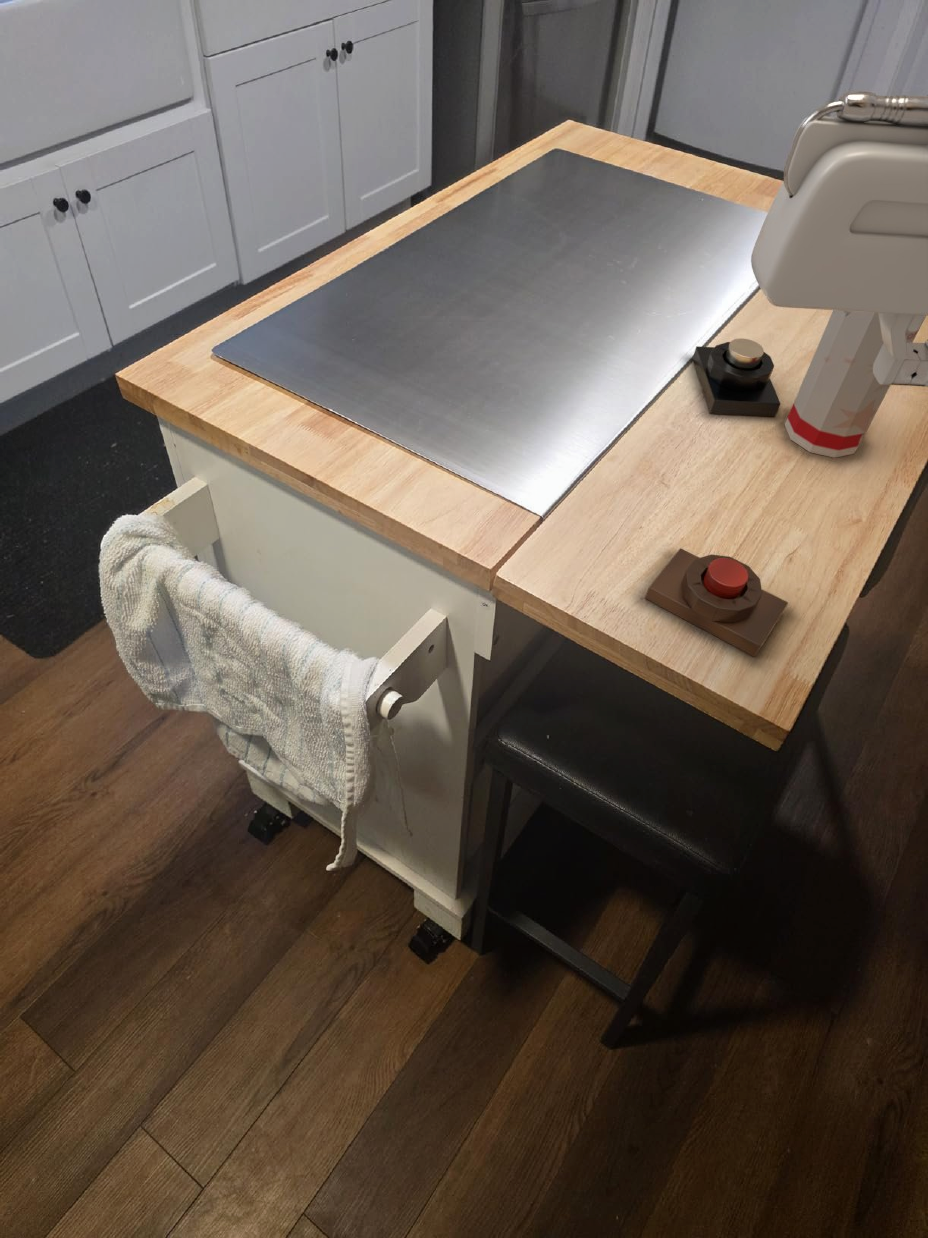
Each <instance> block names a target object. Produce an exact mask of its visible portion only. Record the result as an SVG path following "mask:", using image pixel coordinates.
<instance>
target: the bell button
mask: <svg viewBox="0 0 928 1238" xmlns="http://www.w3.org/2000/svg"><path fill="white" fill-rule="evenodd" d="M747 580H748V573H747V570H746V569H745V568H744V566H743V565H741V564H740V563H739V562H737V561H735V560H732V559H728V558H719V559H716V560H714V561H712V562H711V563H710V565H709V567H708V569H707V572H706V574H705V577H704V585H705V587H706V589H707V590H708V591H709V592H710V593H712V594H713V595H715V596H717V597H719V598H723V599H733V598H736V597H738V596H739V595H740V594H741V593H742V591H743V589H744V587H745V584H746V582H747Z"/></svg>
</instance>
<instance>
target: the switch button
mask: <svg viewBox="0 0 928 1238" xmlns="http://www.w3.org/2000/svg"><path fill="white" fill-rule="evenodd" d="M729 342H730V343H729V346H728V349H727V352H726V355H725V358H724V360H725V362H726V363H727V364H728V365H730V366H731V367H733V368H736V369H739V370H744V371H754V370H756V369H757V368H758V366H759V364H760V361H761V358H762V356H763V353H764V352H765V351H764V347H763V346H762V345H761V344H760V343H758V342H756V341H755V340H753V339H749V338H743V337H742V338H735V339H732V340H731V341H729Z"/></svg>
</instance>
